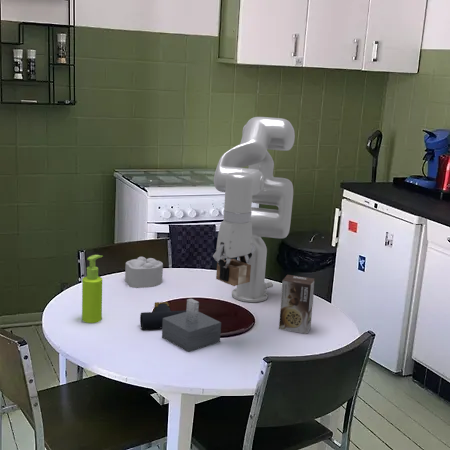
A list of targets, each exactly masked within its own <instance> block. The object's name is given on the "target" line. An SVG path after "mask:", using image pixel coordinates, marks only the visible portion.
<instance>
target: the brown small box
mask: <svg viewBox="0 0 450 450" xmlns="http://www.w3.org/2000/svg"><path fill="white" fill-rule="evenodd" d="M225 261H226V260H225V259H224V262H225ZM228 268H229V281H228V282H226V281H223V280H221V279H220V278H219V277H220V266H219V265H218V263H217V262H216V272H215V273H216V276H215V280H218V281H220V282H223V283H225V284H227V285H230V286H232V287H235V286H236V287H237V285H240V284H244V283H247V282H250V272H251V265H249V264H247V263H244V262H241V261H239V259H236V258H231V260H230V263H229V265H228Z"/></svg>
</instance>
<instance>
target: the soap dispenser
mask: <svg viewBox="0 0 450 450" xmlns="http://www.w3.org/2000/svg"><path fill="white" fill-rule="evenodd" d="M103 257H104V256H103V255H100V254H92V255H90V256H88V257H87V261H89V266H87V267H86V276H85V277H83V278H82V281H81V283H82V289H81V290H82V291H81V292H82V293H81V294H82V298H81V300H82V301H81V303H82V304H81V321H82V322H84V323H86V324H95V323H97V324H98V323H99V322H101V321H102V317H103V278H102V277H101V276H99V267H98V266H96V260H97V259H100V258H103Z"/></svg>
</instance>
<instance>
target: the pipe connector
mask: <svg viewBox="0 0 450 450" xmlns="http://www.w3.org/2000/svg"><path fill="white" fill-rule="evenodd" d="M186 310H187V309H185V310H171V307H170V304H169V302H168V301H161V302H159V301H158V302H156V301H155V302H154V307H153V309H152V311H150V312H148V311H147V312H140V314H139V315H140V316H139V321H140V324H139V325H140V329H141V330H157V329H162V324H163V318H165V317H169V316H173V315H176V314H180V313H183V312H186Z"/></svg>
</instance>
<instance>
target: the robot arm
mask: <svg viewBox="0 0 450 450" xmlns="http://www.w3.org/2000/svg"><path fill="white" fill-rule="evenodd" d="M241 135H242V136H241V140H240V143H239V144H237V145H235V146H234V147H232V148H230V149H228V150H227V151H226V152H224V153H223V154H222V155H221V156H220V158H219V159H218V160H219V161H218V162H217V165H216V169H215V172H214V176H213V184H214V187H215V189H216V190H217V191H219V192H220V193H224V204H223V205H224V207H223V221H221V222H220V225H219V229H218V233H217V240H216V249H215V252H214V254H213V255H212V257H213V259H214V260H215V262H216V264H217V263H218V265H219V266H220V277H219V278H220V279H221V280H223V281H226V282H228V281H229V268H228V265H229V263H230V260H231V259H236V258H238V261H241V262H244V263H247V264H249V265H251V272H250V282H247V283H244V284H240V285H236V288H234V289H232V291H231V297H232V298H234V299H235V300H238V301H241V302H244V303H245V302H246V303H260V302H263V301H266V300H267V299H268V296H269V295H268V292H267V291H266V290H267V289H271V288H273V286H274V283H273V282H272V281H268V282H265V279H266V267H267V266H266V265H267V255H268V254H267V253H268V248H267V246H266V243H265V241H264V239H262V238H272V239H285V238H287V236H288V235H289V234H290V230H291V229H290V228H291V222H292V221H291V220H292V210H293V200H294V185H293V183H292V182H293V181H291V180H290V179H288V178H284V177H279V176H277V177H276V176H274V169H275V168H274V167H275V162H274V160H273V157H272V155H271V154H270V152H269V151H268V150H272V151H273V150H274V151H290V150H291V149H292V148H293V146H294V144H295V139H296V138H295V137H296V136H295V135H296V133H295V129H294V127H293V125H292V123H291V122H290V120H287V119H286V118H281V117H267V116H254V117H252V118H250V119H249V120H248V121H247V122H246V123H245V124H244V126H243V128H242V134H241ZM247 167H248V168H247ZM252 204H258V205H259V204H260V205H267V206H268V205H269V206H276V207H277V208H278V209H272V208H263V207H252ZM225 259H226V261H225ZM224 261H225V262H224Z"/></svg>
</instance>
